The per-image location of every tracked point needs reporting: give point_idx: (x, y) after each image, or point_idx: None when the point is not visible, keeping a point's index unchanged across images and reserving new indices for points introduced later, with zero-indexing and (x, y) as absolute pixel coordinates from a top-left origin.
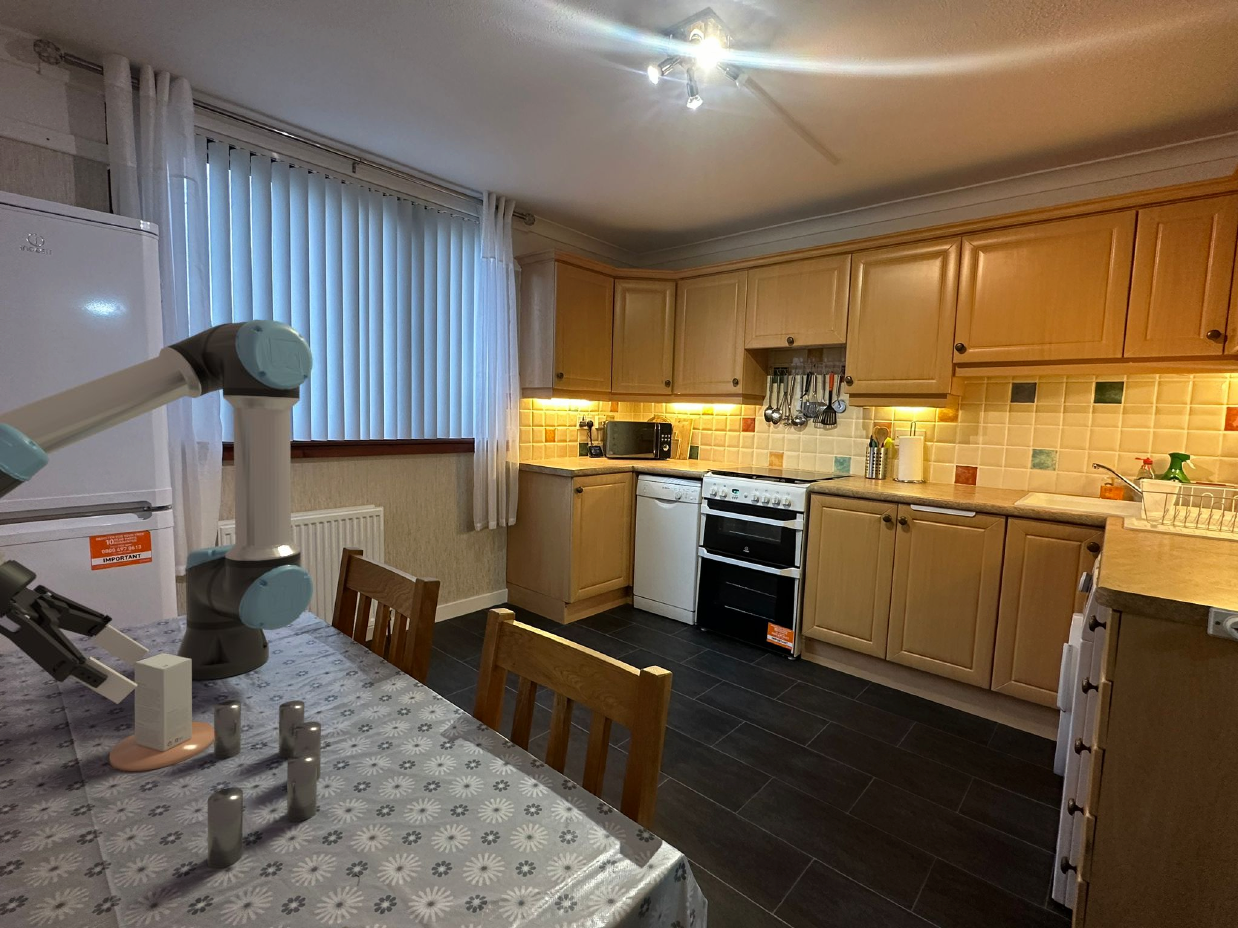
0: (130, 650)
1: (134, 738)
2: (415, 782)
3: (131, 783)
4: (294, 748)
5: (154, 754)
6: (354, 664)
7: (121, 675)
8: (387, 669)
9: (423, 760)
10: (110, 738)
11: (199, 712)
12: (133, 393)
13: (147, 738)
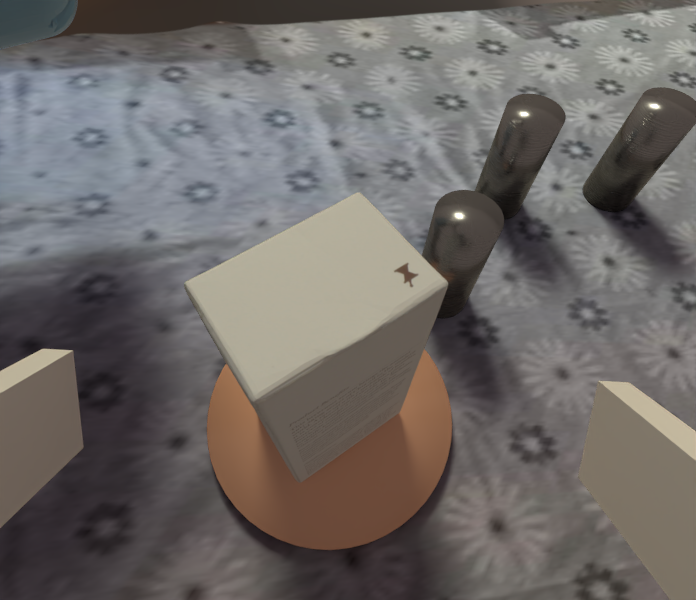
0: (26, 429)
1: (258, 486)
2: None
3: (503, 484)
4: (659, 158)
5: (397, 432)
6: (129, 63)
7: (663, 430)
8: (205, 33)
9: (603, 71)
10: (170, 561)
11: (158, 337)
12: None
13: (352, 442)
